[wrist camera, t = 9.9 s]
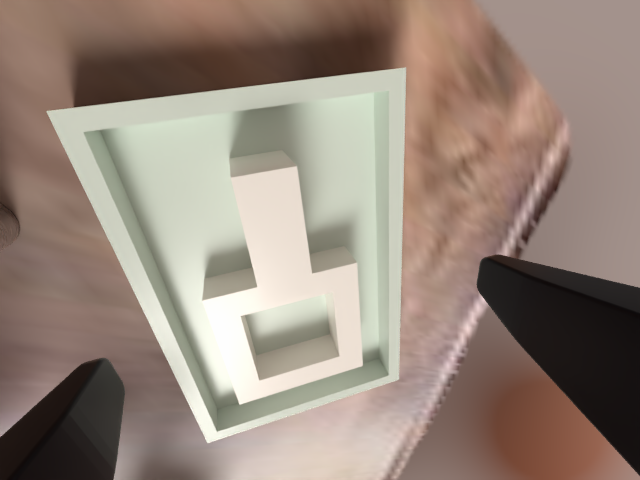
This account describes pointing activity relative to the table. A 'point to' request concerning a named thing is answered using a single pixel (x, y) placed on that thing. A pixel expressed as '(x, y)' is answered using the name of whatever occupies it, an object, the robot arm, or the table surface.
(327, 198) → the tray
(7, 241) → the grey knob with bar
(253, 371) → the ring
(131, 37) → the table surface
